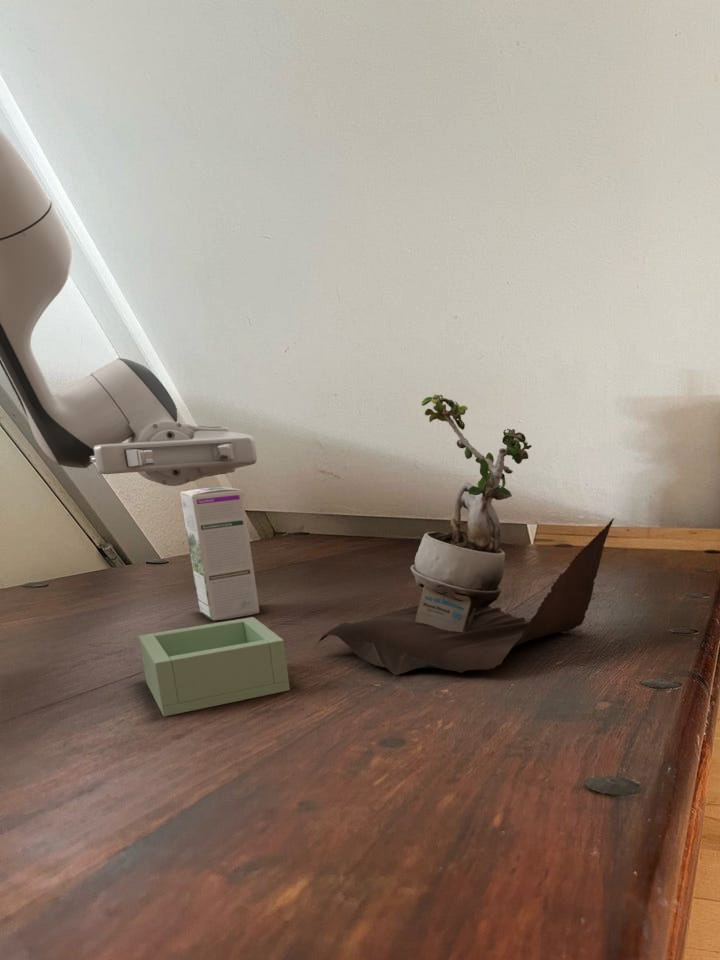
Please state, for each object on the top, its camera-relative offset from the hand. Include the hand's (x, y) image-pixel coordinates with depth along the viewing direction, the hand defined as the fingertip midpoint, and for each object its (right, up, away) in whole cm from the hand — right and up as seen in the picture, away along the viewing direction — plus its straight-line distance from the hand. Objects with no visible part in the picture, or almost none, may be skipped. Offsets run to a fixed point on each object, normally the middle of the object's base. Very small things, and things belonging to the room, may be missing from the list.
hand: (187, 455), depth 97 cm
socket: (+15, -27, -32) cm, 44 cm away
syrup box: (+7, -20, -6) cm, 22 cm away
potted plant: (+36, -24, -23) cm, 48 cm away
